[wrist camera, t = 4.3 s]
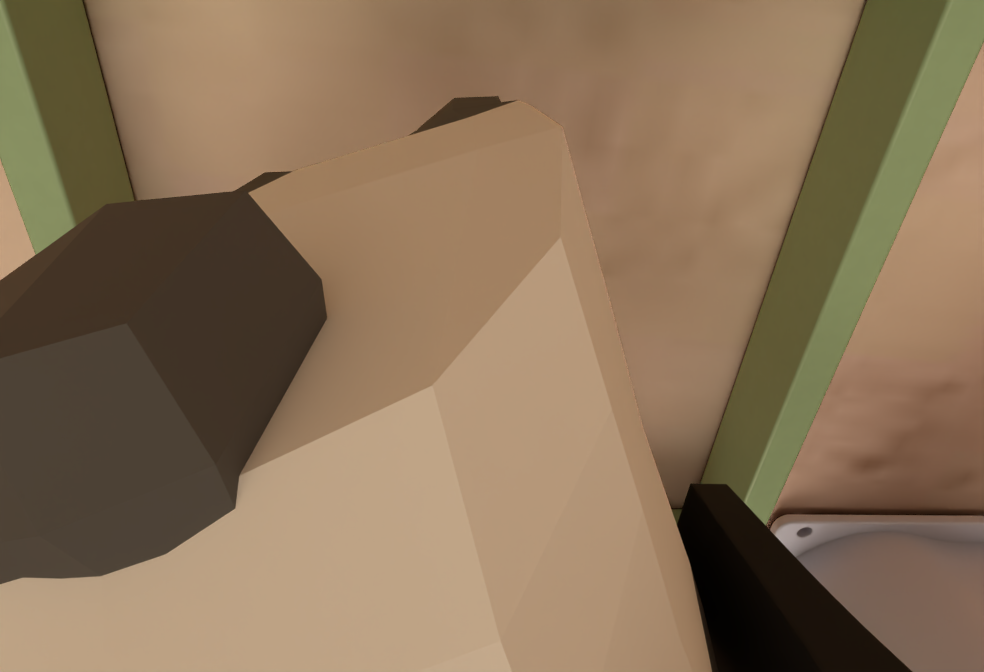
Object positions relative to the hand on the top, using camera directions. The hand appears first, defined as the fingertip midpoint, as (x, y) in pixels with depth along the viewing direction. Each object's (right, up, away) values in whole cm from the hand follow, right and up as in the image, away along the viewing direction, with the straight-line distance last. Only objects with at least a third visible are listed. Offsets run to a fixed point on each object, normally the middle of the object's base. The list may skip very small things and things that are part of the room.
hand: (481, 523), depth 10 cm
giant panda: (0, +2, +2) cm, 3 cm away
